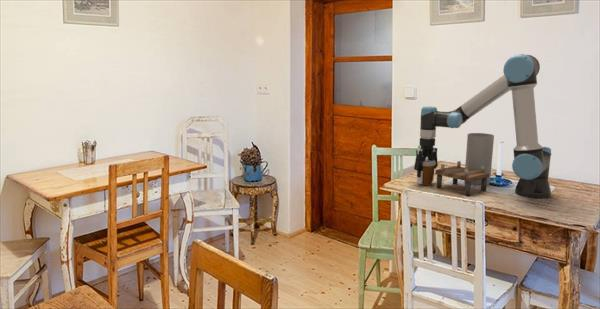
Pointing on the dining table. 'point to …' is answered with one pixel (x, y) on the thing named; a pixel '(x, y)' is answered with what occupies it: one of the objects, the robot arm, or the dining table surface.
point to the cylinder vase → (479, 154)
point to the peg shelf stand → (462, 176)
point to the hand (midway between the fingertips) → (425, 182)
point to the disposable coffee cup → (428, 171)
